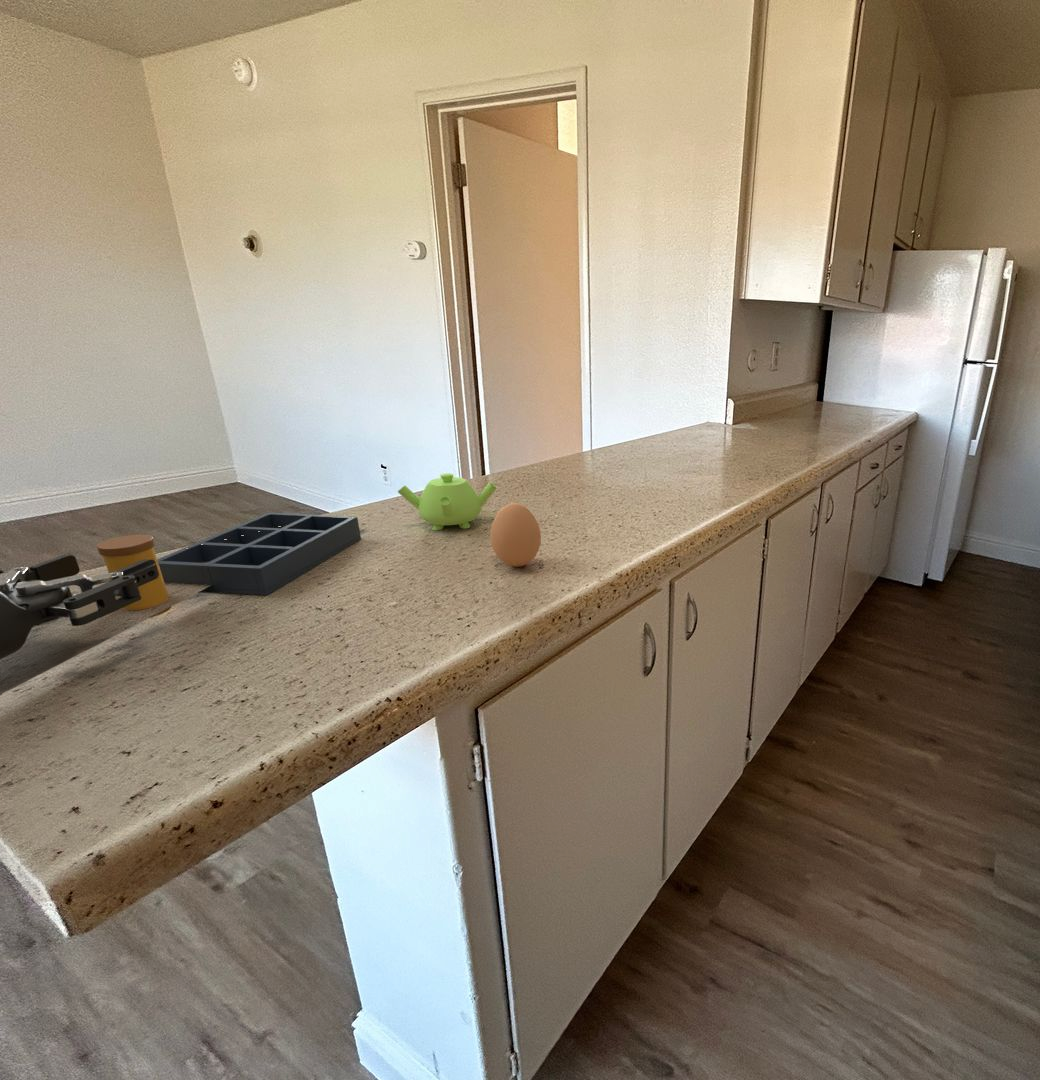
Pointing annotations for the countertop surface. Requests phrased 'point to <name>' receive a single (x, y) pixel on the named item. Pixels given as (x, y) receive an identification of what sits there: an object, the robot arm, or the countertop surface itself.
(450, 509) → the teapot
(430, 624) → the countertop surface
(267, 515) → the grid
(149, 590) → the jar
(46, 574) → the robot arm
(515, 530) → the egg
